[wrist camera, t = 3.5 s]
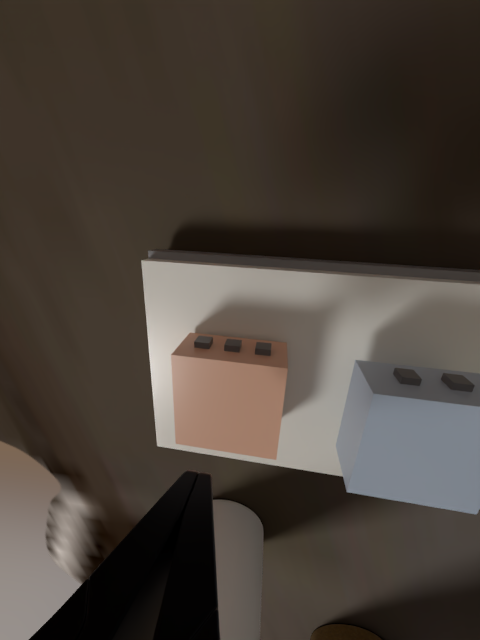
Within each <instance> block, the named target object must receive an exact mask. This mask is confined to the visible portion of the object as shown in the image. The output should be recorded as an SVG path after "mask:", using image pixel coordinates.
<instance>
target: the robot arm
mask: <svg viewBox="0 0 480 640" xmlns="http://www.w3.org/2000/svg"><path fill="white" fill-rule="evenodd" d="M29 640H220V628H219V611H218V592H217V572H216V553H215V533H214V514H213V494H212V476H211V474H210V473H205V472H200V473H199V472H198V471H193V470H186V471H185V472H184V473H183V474H182V475H181V476H180V477H179V479H178V480H177V481H176V482H175V483H174V484H173V485H172V486H171V487H170V488H169V490H168V491H167V492H166V493H165V494H164V495H163V496H162V497H161V498H160V499H159V501H158V502H157V503H156V504H155V505H154V506H153V507H152V508H151V509H150V510H149V512H148V513H147V514H146V515H145V516H144V517H143V518H142V519H141V520H140V521H139V523H138V524H137V525H136V526H135V527H134V528H133V529H132V530H131V531H130V532H129V534H128V535H127V536H126V537H125V538H124V539H123V540H122V541H121V542H120V543H119V545H118V546H117V547H116V548H115V549H114V550H113V551H112V552H111V553H110V554H109V556H108V557H107V558H106V559H105V560H104V561H103V562H102V563H101V564H100V565H99V567H98V568H97V569H96V570H95V571H94V572H93V573H92V574H91V575H90V578H89V579H87V580H86V581H85V582H84V583H83V584H82V585H81V586H80V587H79V588H78V589H77V591H76V592H75V593H74V594H73V595H72V596H71V597H70V598H69V599H68V600H67V601H66V602H65V604H64V605H63V606H62V607H61V608H60V609H59V610H58V611H57V612H56V613H55V614H54V615H53V616H52V618H50V619H49V620H48V621H47V622H46V623H45V624H44V625H43V626H42V627H41V628H40V629H39V630H38V631H37V632H36V633H35V634H34V635H33V636H32V637H31V638H30V639H29Z"/></svg>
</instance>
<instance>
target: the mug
mask: <svg viewBox="0 0 480 640" xmlns="http://www.w3.org/2000/svg"><path fill="white" fill-rule="evenodd" d="M213 514H214V533H215V553H216V572H217V592H218V611H219V628H220V640H260V622H261V597H262V574H263V537H264V531H263V525H262V523H261V521H260V519H259V518H258V516H257V515H256V514H255V513H254V512H253V511H252V510H250V509H249V508H247V507H246V506H244V505H242V504H240V503H237V502H234V501H230V500H221V499H218V500H213Z"/></svg>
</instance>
